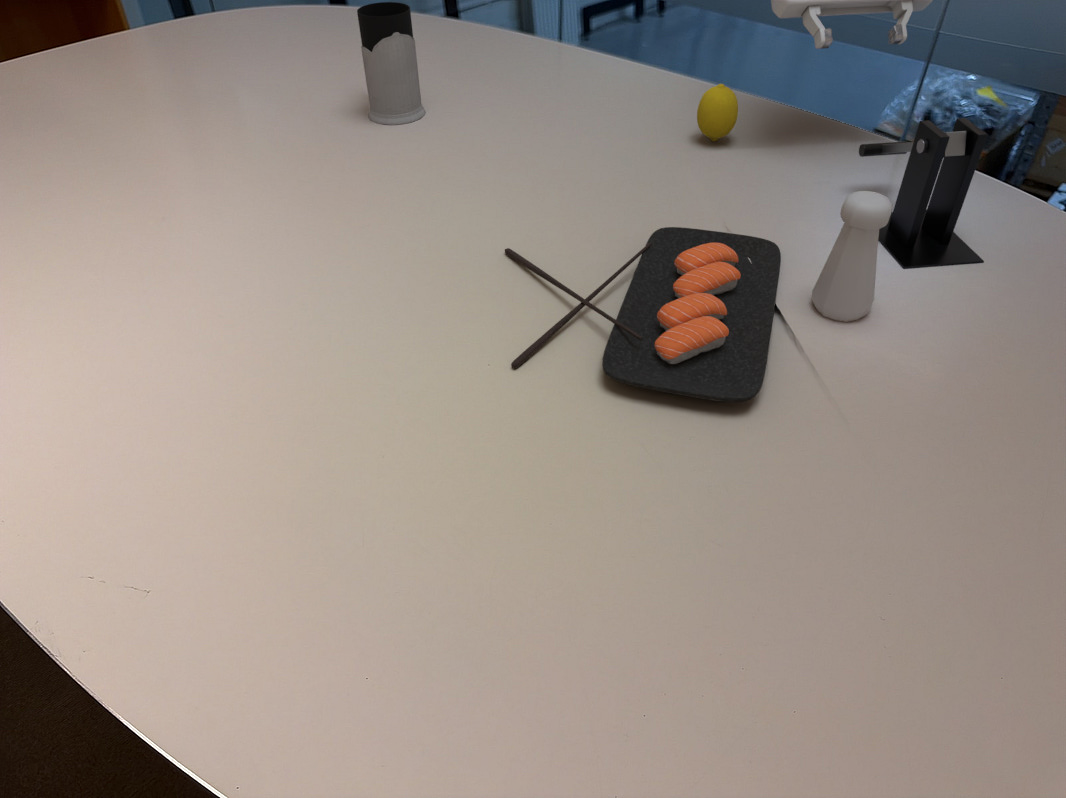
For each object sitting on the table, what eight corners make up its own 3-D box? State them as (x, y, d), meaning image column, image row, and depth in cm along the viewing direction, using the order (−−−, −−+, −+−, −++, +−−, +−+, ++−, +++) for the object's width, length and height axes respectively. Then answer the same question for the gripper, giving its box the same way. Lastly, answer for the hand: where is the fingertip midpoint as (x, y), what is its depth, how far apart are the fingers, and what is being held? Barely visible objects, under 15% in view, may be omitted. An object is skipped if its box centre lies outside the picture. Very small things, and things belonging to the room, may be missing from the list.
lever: (857, 161, 97) (858, 140, 97) (901, 158, 98) (903, 137, 97) (929, 157, 83) (930, 133, 82) (980, 154, 83) (982, 129, 82)
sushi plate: (757, 422, 70) (764, 387, 67) (433, 363, 77) (429, 330, 74) (780, 254, 91) (787, 224, 88) (525, 221, 98) (524, 191, 95)
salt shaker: (802, 300, 84) (829, 182, 75) (858, 300, 84) (892, 182, 75) (815, 333, 79) (846, 212, 71) (874, 333, 79) (912, 212, 71)
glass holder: (381, 129, 120) (365, 21, 110) (347, 99, 130) (330, -2, 120) (434, 117, 123) (424, 11, 114) (398, 89, 133) (386, -11, 123)
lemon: (741, 142, 114) (750, 85, 109) (713, 152, 112) (720, 94, 107) (714, 130, 118) (721, 74, 113) (685, 139, 115) (691, 82, 110)
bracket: (854, 224, 96) (885, 108, 87) (926, 218, 97) (964, 103, 88) (900, 277, 87) (940, 154, 78) (980, 271, 87) (1029, 148, 79)
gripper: (914, -51, 105) (928, 52, 103) (760, -43, 103) (772, 61, 102) (942, -84, 98) (957, 25, 97) (778, -76, 97) (791, 35, 96)
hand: (861, 44), depth 100 cm, fingers open, 8 cm apart
